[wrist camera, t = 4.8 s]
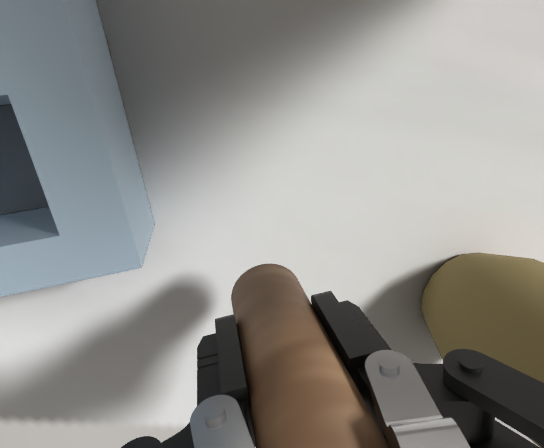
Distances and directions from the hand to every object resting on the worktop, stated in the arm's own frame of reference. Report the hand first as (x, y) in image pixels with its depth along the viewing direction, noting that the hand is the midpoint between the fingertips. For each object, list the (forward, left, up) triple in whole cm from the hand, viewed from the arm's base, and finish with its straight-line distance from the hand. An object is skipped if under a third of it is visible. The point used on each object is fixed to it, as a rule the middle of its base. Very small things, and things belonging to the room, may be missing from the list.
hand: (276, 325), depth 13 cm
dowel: (0, 0, -2) cm, 2 cm away
